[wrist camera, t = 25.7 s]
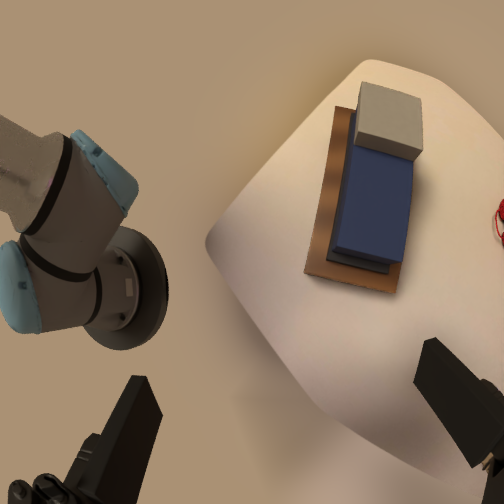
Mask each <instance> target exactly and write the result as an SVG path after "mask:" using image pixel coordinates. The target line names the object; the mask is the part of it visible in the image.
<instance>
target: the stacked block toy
mask: <svg viewBox="0 0 504 504" xmlns="http://www.w3.org/2000/svg"><path fill="white" fill-rule="evenodd" d="M422 151H423V124H422V107H421V99H420V98H417V97H414V96H412V95H409V94H406V93H402V92H399V91H396V90H393V89H389V88H386V87H382V86H379V85H375V84H371V83H367V82H363V81H362V83H361V87H360V92H359V96H358V104H357V108H356V112H355V113H353V112H352V113H351V116H350V122H349V130H348V138H347V146H346V153H345V160H344V166H343V173H342V179H341V185H340V191H339V196H338V202H337V207H336V213H335V218H334V223H333V228H332V233H331V238H330V242H329V247H328V252H327V256H326V261H331V262H335V263H339V264H343V265H347V266H352V267H356V268H360V269H364V270H368V271H372V272H376V273H381V274H388V273H389V268H390V264H395V263H401V262H402V261H403V255H404V249H405V243H406V237H407V229H408V222H409V213H410V204H411V193H412V180H413V161H414V160H415V159H416V158H417V157H418V156H419V155H420V153H421V152H422Z"/></svg>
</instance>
